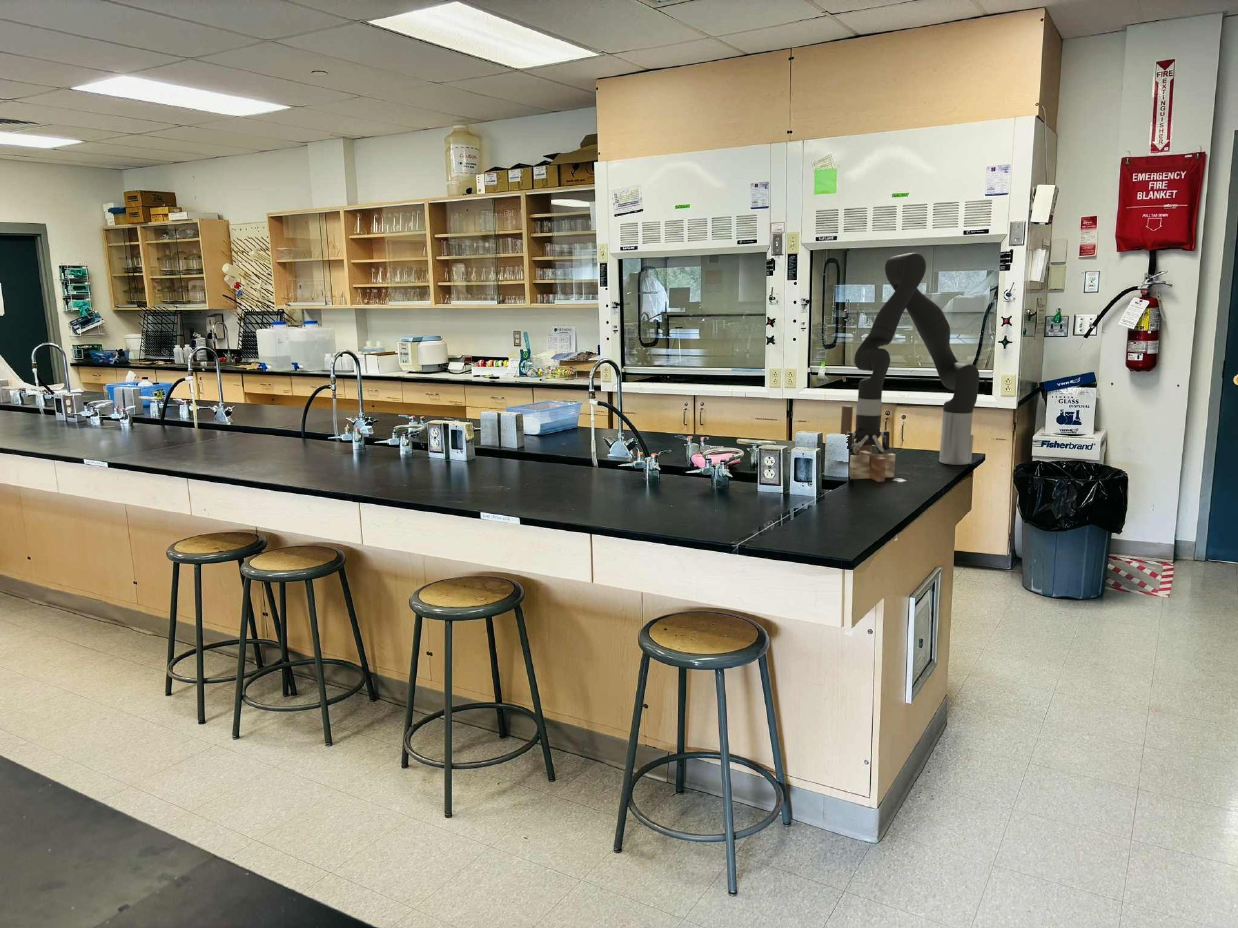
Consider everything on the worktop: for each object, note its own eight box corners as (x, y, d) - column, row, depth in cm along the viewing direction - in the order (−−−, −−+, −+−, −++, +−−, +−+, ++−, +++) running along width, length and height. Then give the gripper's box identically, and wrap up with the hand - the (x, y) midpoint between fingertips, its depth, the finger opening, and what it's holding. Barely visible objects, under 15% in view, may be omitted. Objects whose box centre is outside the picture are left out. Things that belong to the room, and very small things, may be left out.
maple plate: (890, 475, 269) (891, 453, 267) (894, 477, 267) (895, 454, 265) (848, 477, 266) (850, 455, 265) (852, 479, 264) (853, 456, 262)
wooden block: (868, 461, 289) (871, 408, 286) (837, 458, 295) (839, 406, 292) (871, 460, 292) (874, 407, 289) (840, 456, 298) (843, 404, 295)
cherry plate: (864, 472, 273) (865, 450, 272) (884, 481, 261) (886, 458, 259) (857, 472, 273) (859, 450, 271) (877, 481, 260) (879, 459, 259)
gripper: (883, 410, 271) (880, 460, 275) (841, 411, 269) (839, 462, 272) (896, 413, 264) (892, 465, 268) (853, 415, 261) (850, 467, 265)
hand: (865, 464), depth 270 cm, fingers open, 8 cm apart
